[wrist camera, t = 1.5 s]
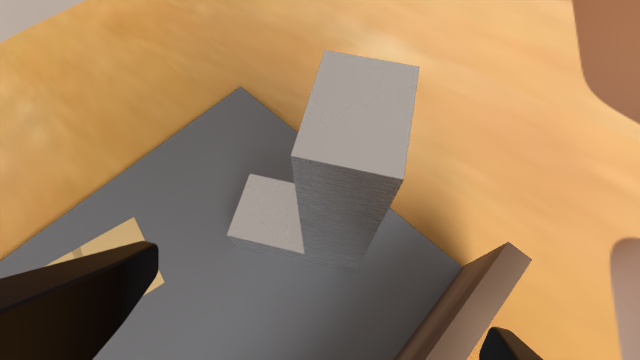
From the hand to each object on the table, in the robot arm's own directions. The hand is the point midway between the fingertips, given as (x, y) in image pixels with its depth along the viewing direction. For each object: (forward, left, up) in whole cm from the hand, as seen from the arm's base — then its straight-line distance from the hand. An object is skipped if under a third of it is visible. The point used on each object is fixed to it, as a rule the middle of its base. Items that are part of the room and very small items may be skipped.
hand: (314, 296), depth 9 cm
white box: (+4, -3, -11) cm, 13 cm away
